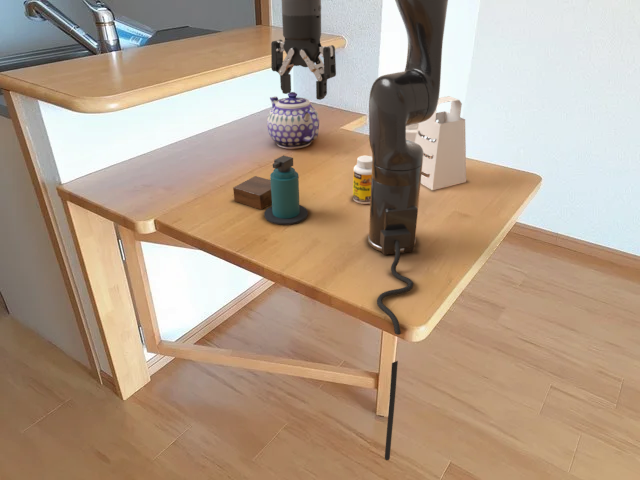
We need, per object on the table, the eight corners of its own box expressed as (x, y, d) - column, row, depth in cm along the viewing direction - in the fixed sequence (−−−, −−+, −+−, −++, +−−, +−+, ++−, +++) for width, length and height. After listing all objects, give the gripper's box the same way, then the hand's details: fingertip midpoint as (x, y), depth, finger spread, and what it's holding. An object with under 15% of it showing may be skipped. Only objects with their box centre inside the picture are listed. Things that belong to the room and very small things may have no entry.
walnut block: (261, 209, 118) (260, 195, 117) (234, 201, 122) (232, 187, 121) (282, 196, 124) (281, 183, 122) (256, 189, 128) (255, 175, 126)
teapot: (338, 150, 150) (338, 98, 143) (291, 161, 144) (289, 107, 136) (296, 127, 169) (294, 80, 162) (252, 135, 162) (249, 86, 155)
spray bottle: (297, 227, 116) (268, 205, 105) (276, 220, 119) (245, 198, 108) (318, 179, 118) (292, 152, 107) (297, 173, 121) (269, 146, 110)
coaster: (311, 222, 113) (311, 220, 113) (267, 227, 111) (266, 225, 111) (303, 203, 121) (303, 201, 121) (262, 207, 120) (262, 205, 119)
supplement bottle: (348, 201, 122) (349, 160, 116) (359, 192, 126) (360, 152, 121) (370, 207, 119) (372, 164, 114) (380, 197, 123) (382, 156, 118)
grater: (406, 175, 135) (413, 97, 125) (439, 167, 139) (448, 91, 129) (432, 190, 127) (441, 108, 117) (466, 181, 131) (477, 101, 121)
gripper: (260, 11, 101) (265, 95, 110) (322, 16, 95) (322, 105, 103) (283, 7, 107) (286, 87, 115) (343, 11, 100) (342, 96, 108)
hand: (303, 95), depth 109 cm, fingers open, 8 cm apart
